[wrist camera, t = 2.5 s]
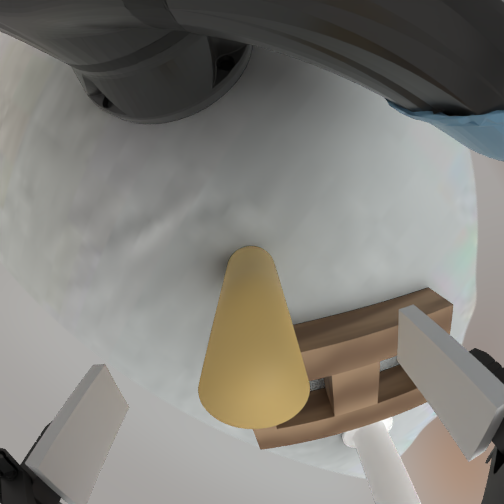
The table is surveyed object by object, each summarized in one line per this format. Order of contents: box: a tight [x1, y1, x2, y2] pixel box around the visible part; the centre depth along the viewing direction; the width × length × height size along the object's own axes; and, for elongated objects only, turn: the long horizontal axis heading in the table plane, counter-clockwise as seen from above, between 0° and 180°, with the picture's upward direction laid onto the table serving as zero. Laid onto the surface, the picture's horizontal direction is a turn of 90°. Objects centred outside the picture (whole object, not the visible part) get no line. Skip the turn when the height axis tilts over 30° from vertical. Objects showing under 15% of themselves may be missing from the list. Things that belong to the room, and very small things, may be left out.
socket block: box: [253, 288, 453, 449], centre depth 24 cm, size 12×20×4 cm, turn 102°
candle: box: [342, 417, 421, 504], centre depth 17 cm, size 7×7×25 cm
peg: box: [198, 246, 310, 429], centre depth 16 cm, size 4×4×15 cm
